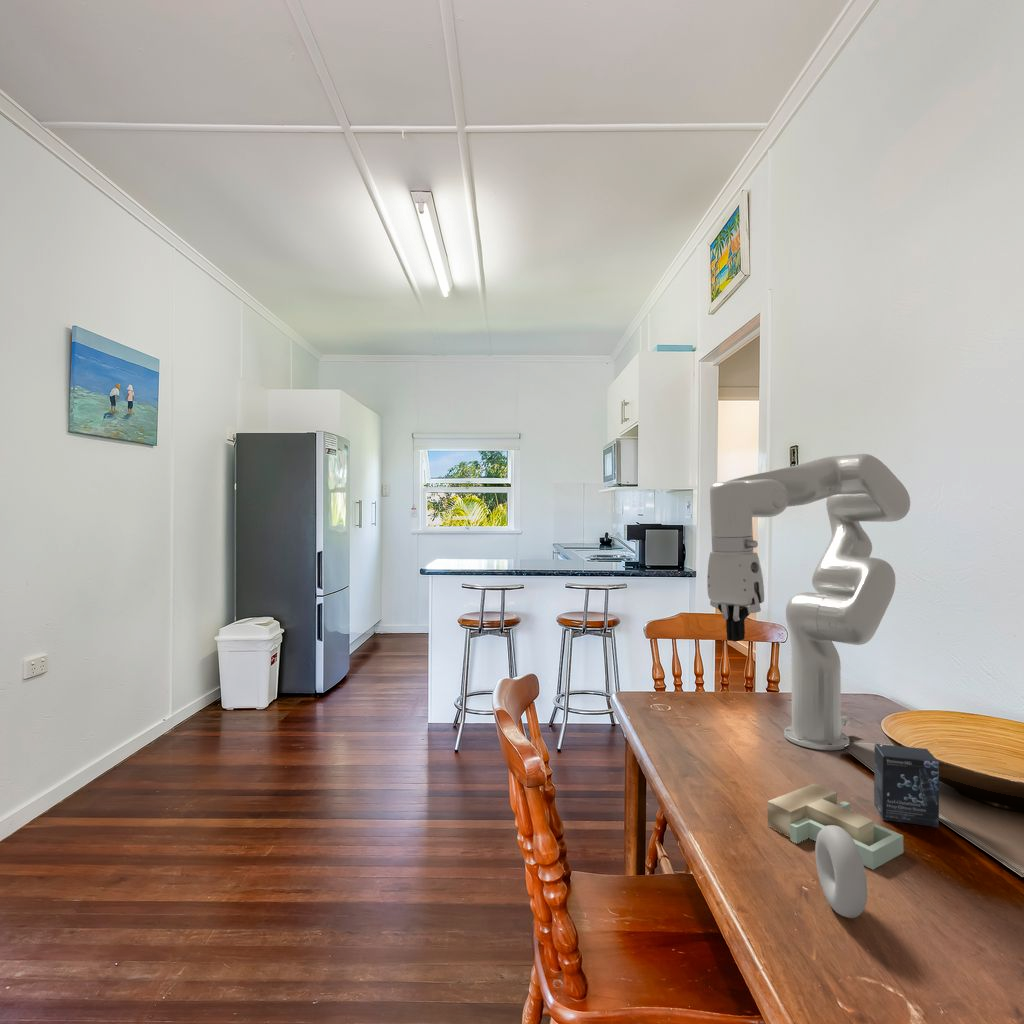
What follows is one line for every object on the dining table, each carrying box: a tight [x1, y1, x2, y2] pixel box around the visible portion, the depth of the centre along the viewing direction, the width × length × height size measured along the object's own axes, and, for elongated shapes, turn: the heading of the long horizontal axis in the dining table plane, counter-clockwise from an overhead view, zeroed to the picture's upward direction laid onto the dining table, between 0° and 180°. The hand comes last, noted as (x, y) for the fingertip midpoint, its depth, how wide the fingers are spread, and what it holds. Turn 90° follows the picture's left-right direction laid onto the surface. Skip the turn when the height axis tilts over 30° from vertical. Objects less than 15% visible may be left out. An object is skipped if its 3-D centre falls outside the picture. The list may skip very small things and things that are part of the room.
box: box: [873, 743, 940, 828], centre depth 99 cm, size 8×6×11 cm
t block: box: [767, 783, 875, 846], centre depth 94 cm, size 12×12×4 cm
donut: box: [814, 825, 868, 919], centre depth 76 cm, size 10×4×10 cm, turn 172°
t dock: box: [789, 800, 904, 870], centre depth 91 cm, size 14×10×2 cm
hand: (735, 639), depth 118 cm, fingers closed
